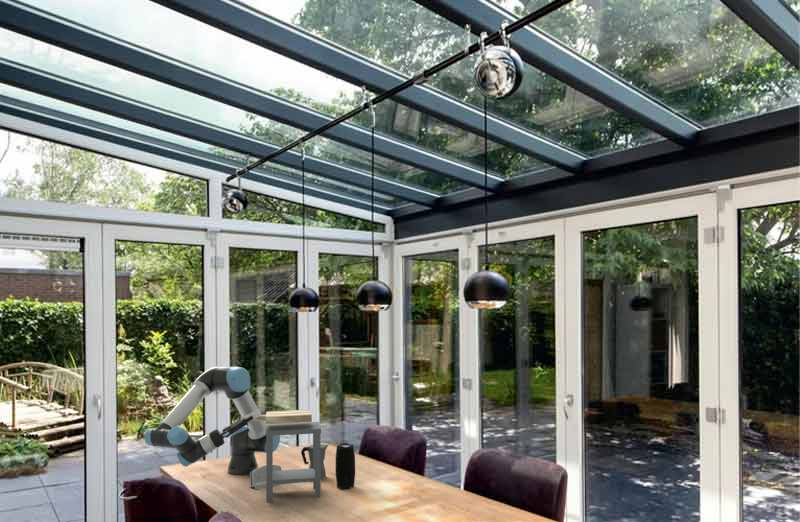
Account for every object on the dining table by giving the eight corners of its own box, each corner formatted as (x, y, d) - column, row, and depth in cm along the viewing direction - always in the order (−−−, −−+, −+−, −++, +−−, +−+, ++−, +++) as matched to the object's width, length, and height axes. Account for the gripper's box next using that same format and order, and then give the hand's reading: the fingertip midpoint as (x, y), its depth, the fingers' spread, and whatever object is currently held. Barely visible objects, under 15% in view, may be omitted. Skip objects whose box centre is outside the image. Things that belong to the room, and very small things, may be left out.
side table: (266, 490, 284) (266, 424, 286) (319, 486, 288) (318, 421, 291) (265, 502, 266) (265, 431, 269) (321, 498, 271) (321, 428, 273)
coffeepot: (323, 473, 313) (322, 437, 315) (333, 476, 306) (333, 439, 307) (296, 478, 304) (296, 441, 305) (306, 482, 296) (306, 444, 298)
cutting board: (242, 419, 283) (242, 412, 284) (310, 416, 289) (310, 409, 290) (239, 425, 268) (239, 418, 268) (311, 421, 274) (311, 414, 274)
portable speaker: (339, 484, 292) (339, 442, 294) (358, 485, 290) (357, 443, 291) (332, 489, 284) (332, 446, 285) (352, 490, 281) (351, 446, 283)
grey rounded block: (254, 489, 286) (251, 467, 289) (250, 491, 289) (247, 469, 292) (286, 482, 296) (283, 461, 300) (282, 484, 300) (278, 463, 303)
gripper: (218, 444, 281) (264, 415, 286) (215, 452, 264) (263, 422, 269) (210, 430, 281) (256, 402, 286) (206, 437, 264) (254, 407, 269)
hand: (259, 411), depth 277 cm, fingers closed on cutting board, 4 cm apart
